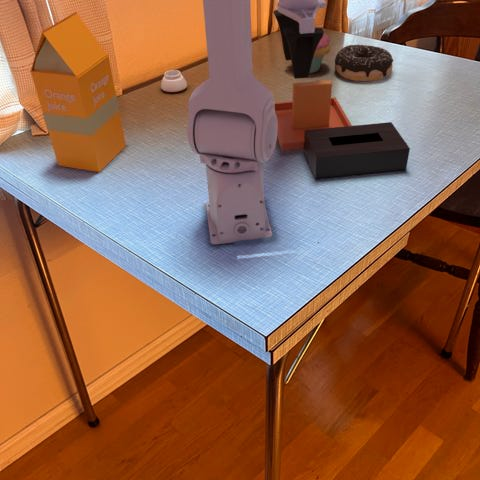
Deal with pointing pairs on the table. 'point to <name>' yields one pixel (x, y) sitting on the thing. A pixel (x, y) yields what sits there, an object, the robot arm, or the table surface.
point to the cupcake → (320, 53)
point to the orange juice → (77, 96)
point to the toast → (311, 104)
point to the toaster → (355, 150)
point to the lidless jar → (173, 81)
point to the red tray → (295, 137)
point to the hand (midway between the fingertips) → (296, 68)
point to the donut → (363, 62)
